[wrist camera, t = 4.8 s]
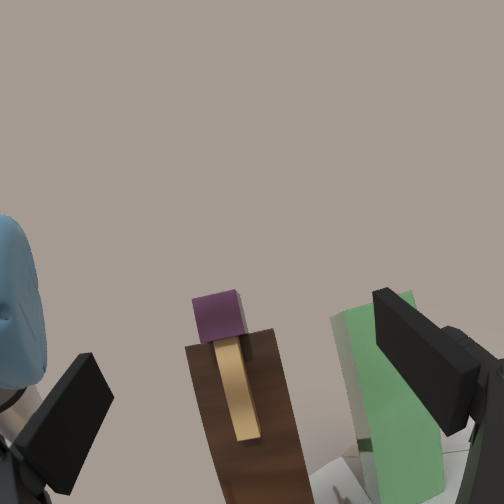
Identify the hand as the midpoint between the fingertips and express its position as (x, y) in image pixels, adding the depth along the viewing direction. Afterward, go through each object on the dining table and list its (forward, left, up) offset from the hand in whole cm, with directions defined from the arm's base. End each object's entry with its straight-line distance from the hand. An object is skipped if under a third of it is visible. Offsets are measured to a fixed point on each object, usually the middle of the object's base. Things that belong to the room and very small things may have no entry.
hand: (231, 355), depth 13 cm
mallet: (-19, +10, -2) cm, 22 cm away
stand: (-23, +12, -30) cm, 40 cm away
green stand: (-16, +30, -30) cm, 46 cm away
